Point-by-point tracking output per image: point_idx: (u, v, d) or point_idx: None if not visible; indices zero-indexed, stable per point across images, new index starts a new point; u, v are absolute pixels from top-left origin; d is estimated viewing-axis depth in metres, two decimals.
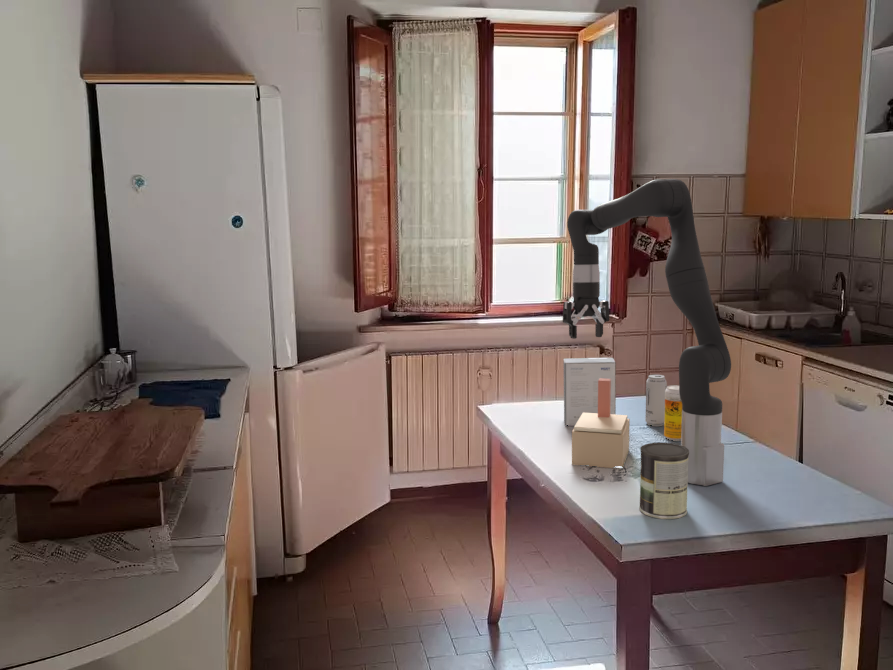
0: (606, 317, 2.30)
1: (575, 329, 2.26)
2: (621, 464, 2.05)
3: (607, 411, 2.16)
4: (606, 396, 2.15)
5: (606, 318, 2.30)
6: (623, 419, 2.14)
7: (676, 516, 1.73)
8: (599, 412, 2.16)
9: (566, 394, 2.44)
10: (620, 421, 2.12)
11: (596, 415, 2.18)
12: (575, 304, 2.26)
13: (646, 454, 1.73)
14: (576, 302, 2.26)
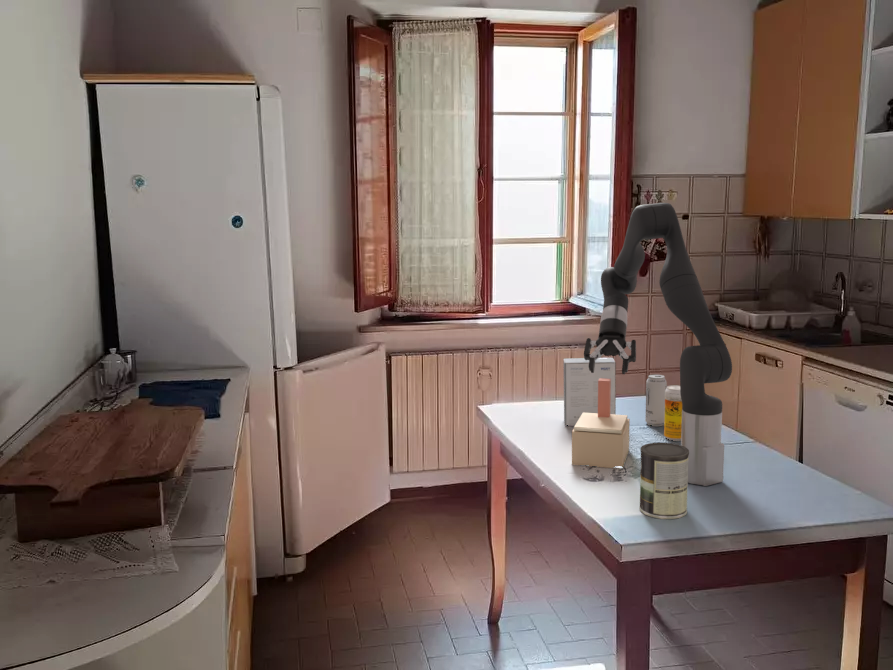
0: (631, 353, 2.21)
1: (592, 361, 2.23)
2: (621, 464, 2.05)
3: (607, 411, 2.16)
4: (606, 396, 2.15)
5: (631, 354, 2.21)
6: (623, 419, 2.14)
7: (676, 516, 1.73)
8: (599, 412, 2.16)
9: (566, 394, 2.44)
10: (620, 421, 2.12)
11: (596, 415, 2.18)
12: (596, 341, 2.27)
13: (646, 454, 1.73)
14: (597, 339, 2.27)
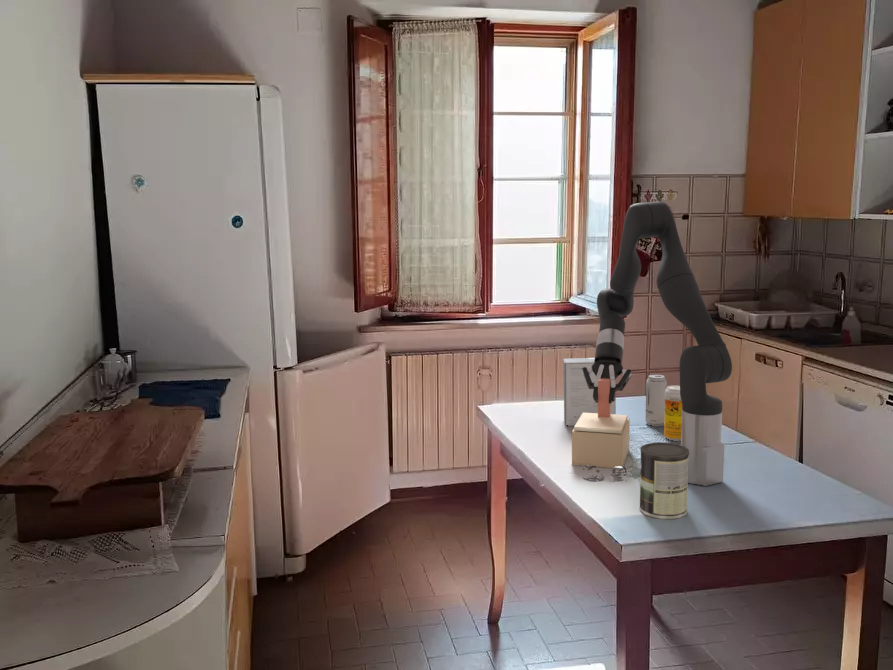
0: (620, 382, 2.16)
1: (596, 390, 2.16)
2: (621, 464, 2.05)
3: (607, 411, 2.16)
4: (606, 396, 2.15)
5: (619, 383, 2.16)
6: (623, 419, 2.14)
7: (676, 516, 1.73)
8: (599, 412, 2.16)
9: (566, 394, 2.44)
10: (620, 421, 2.12)
11: (596, 415, 2.18)
12: (592, 367, 2.21)
13: (646, 454, 1.73)
14: (592, 365, 2.22)
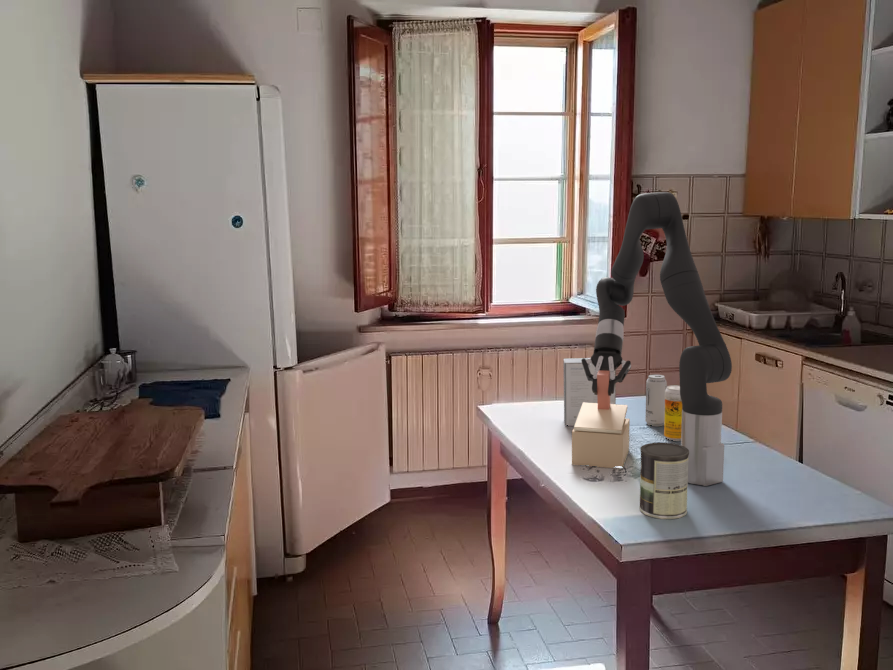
0: (619, 374, 2.14)
1: (596, 382, 2.14)
2: (621, 464, 2.05)
3: (607, 404, 2.15)
4: (605, 389, 2.13)
5: (618, 374, 2.14)
6: (623, 412, 2.13)
7: (676, 516, 1.73)
8: (599, 404, 2.16)
9: (566, 394, 2.44)
10: (620, 414, 2.12)
11: (596, 406, 2.17)
12: (591, 358, 2.19)
13: (646, 454, 1.73)
14: (591, 356, 2.19)
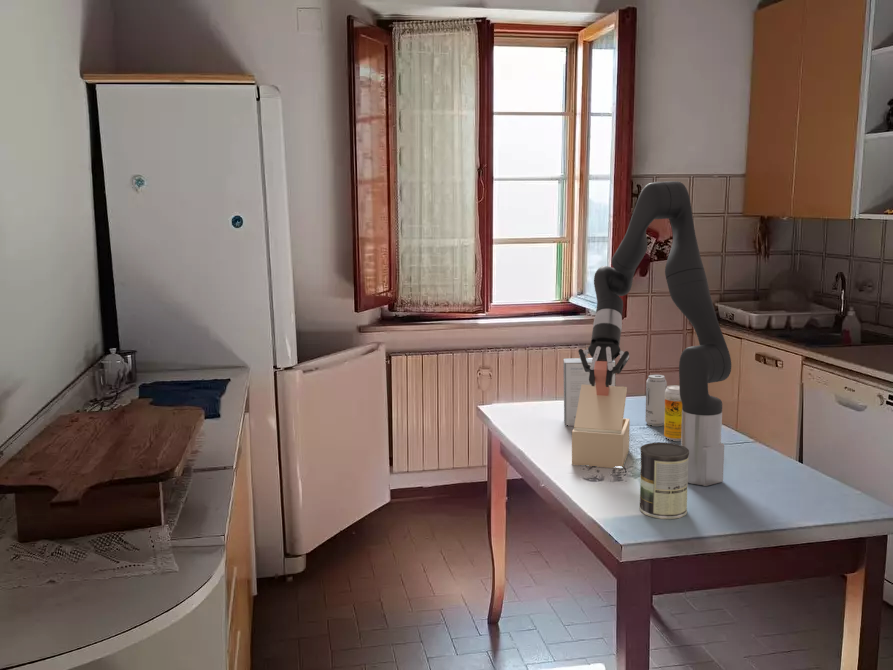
0: (617, 364, 2.08)
1: (593, 373, 2.08)
2: (621, 464, 2.05)
3: (606, 391, 2.12)
4: (603, 380, 2.09)
5: (616, 365, 2.08)
6: (622, 399, 2.11)
7: (676, 516, 1.73)
8: (598, 392, 2.13)
9: (566, 394, 2.44)
10: (620, 404, 2.10)
11: (595, 391, 2.14)
12: (588, 349, 2.13)
13: (646, 454, 1.73)
14: (588, 347, 2.14)
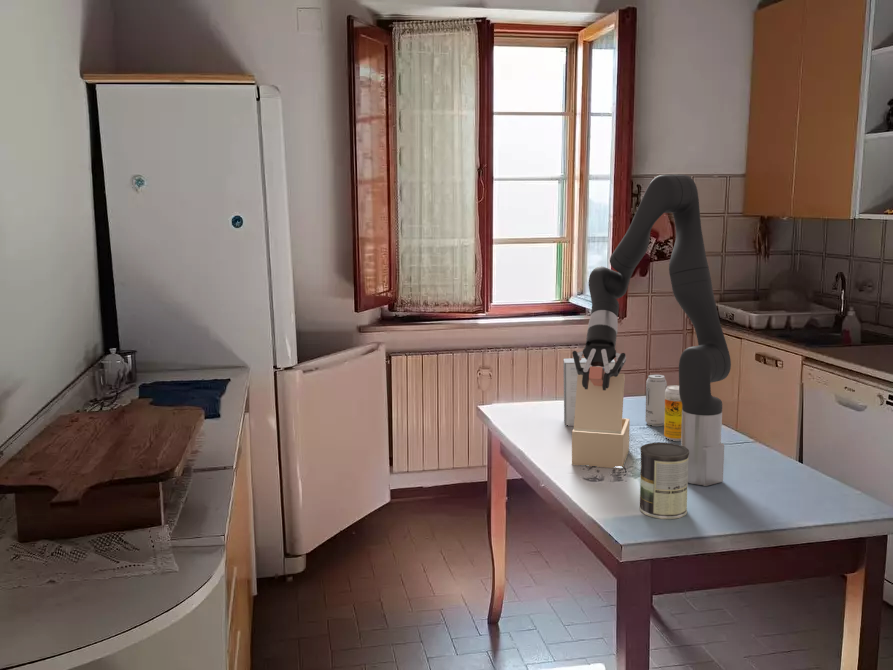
0: (614, 367, 2.00)
1: (586, 376, 2.00)
2: (621, 464, 2.05)
3: None
4: (600, 381, 2.02)
5: (614, 368, 1.99)
6: (621, 391, 2.06)
7: (676, 516, 1.73)
8: (595, 384, 2.07)
9: (566, 394, 2.44)
10: (618, 397, 2.06)
11: None
12: (583, 351, 2.05)
13: (646, 454, 1.73)
14: (583, 349, 2.05)
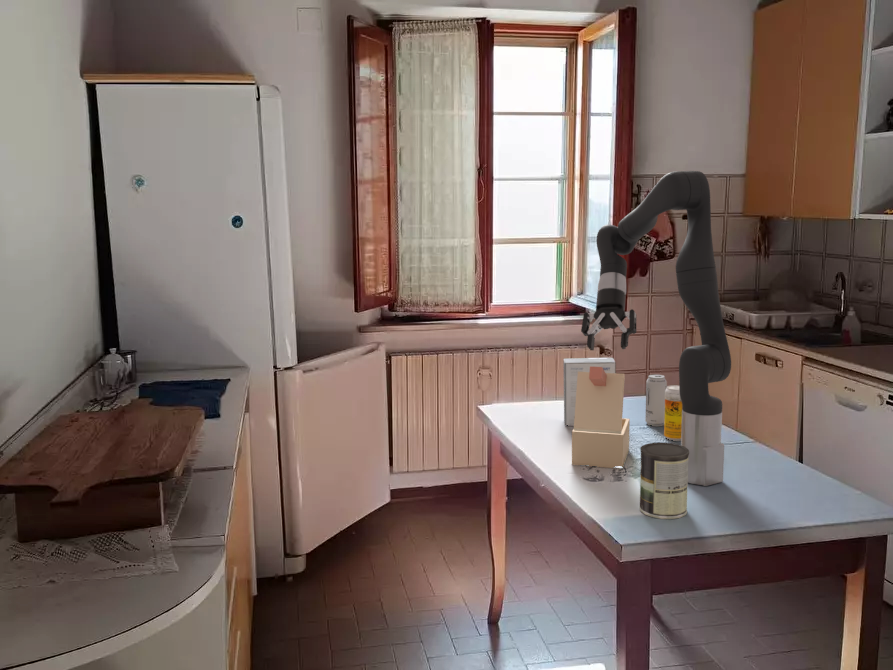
0: (630, 326, 2.08)
1: (590, 338, 2.12)
2: (621, 464, 2.05)
3: (603, 385, 2.06)
4: (600, 381, 2.02)
5: (630, 327, 2.08)
6: (621, 391, 2.06)
7: (676, 516, 1.73)
8: (595, 384, 2.07)
9: (566, 394, 2.44)
10: (618, 397, 2.06)
11: None
12: (593, 314, 2.15)
13: (646, 454, 1.73)
14: None
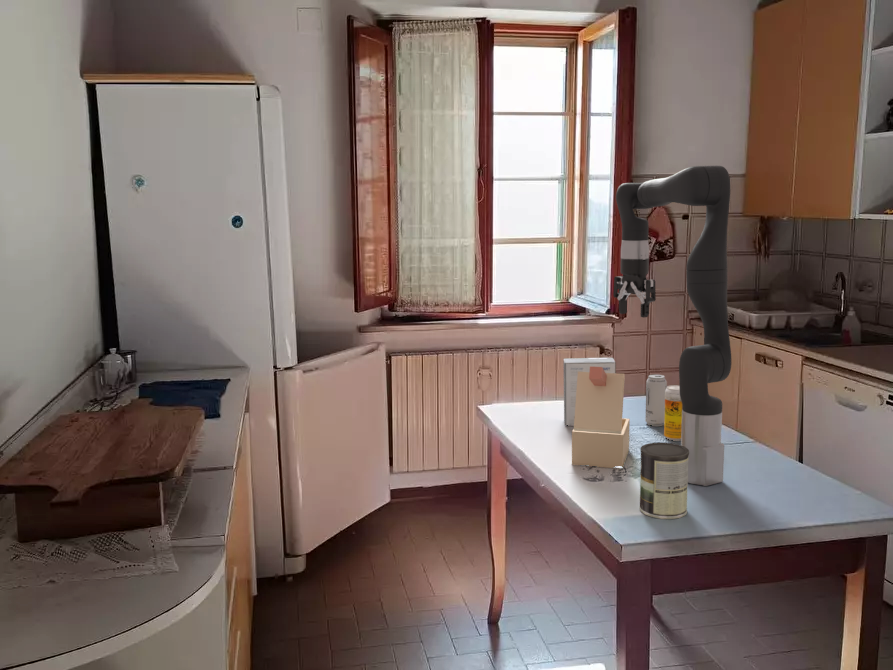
0: (646, 297, 2.16)
1: (620, 304, 2.26)
2: (621, 464, 2.05)
3: (603, 385, 2.06)
4: (600, 381, 2.02)
5: (646, 298, 2.16)
6: (621, 391, 2.06)
7: (676, 516, 1.73)
8: (595, 384, 2.07)
9: (566, 394, 2.44)
10: (618, 397, 2.06)
11: None
12: None
13: (646, 454, 1.73)
14: (622, 277, 2.24)
